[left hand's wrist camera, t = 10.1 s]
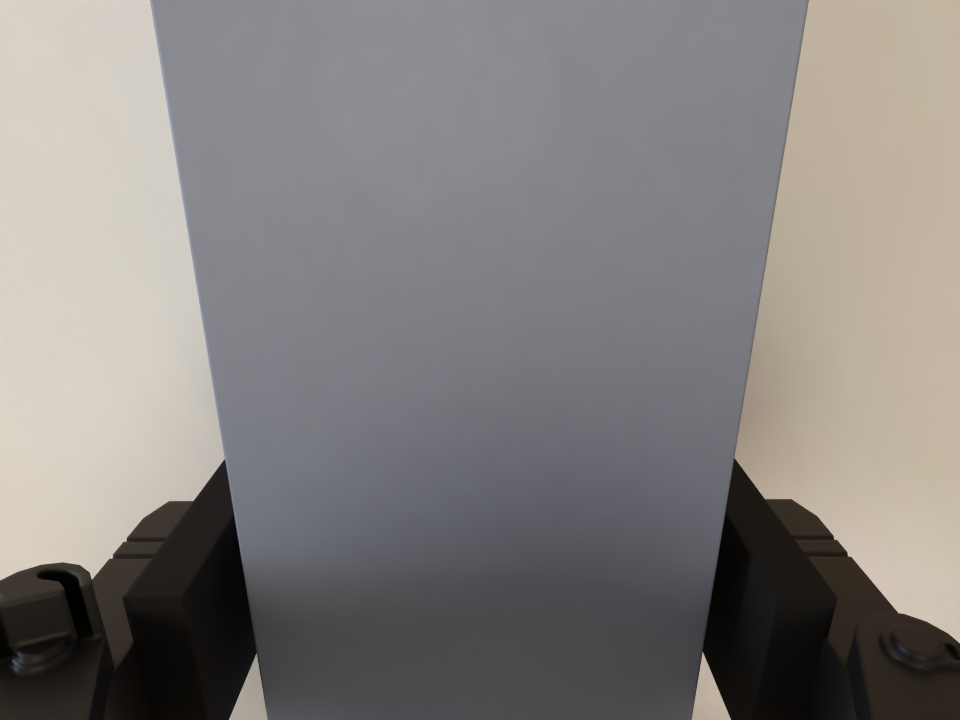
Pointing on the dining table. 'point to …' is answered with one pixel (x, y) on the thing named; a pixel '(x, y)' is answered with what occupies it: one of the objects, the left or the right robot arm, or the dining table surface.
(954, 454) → the dining table surface
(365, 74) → the cabinet
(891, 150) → the dining table surface
